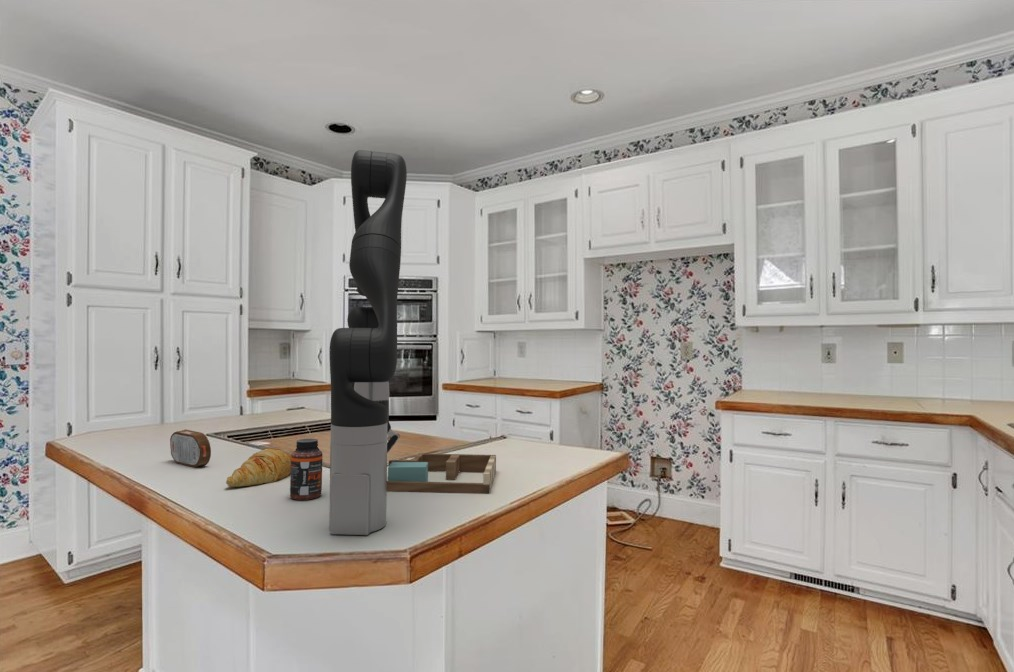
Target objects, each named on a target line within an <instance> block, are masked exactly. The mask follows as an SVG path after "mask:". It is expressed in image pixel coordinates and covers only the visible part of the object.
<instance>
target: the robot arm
mask: <svg viewBox="0 0 1014 672" xmlns="http://www.w3.org/2000/svg"><path fill="white" fill-rule="evenodd" d="M407 175H408V173H407V164H406V161H405V159H404V157H403V156H402V155H400V154H397V153H394V152H385V151H375V150H373V151H372V150H364V149H363V150H362V149H359V150H356V151H355V152H354V154H353V155H352V159H351V166H350V181H351V182H350V186H351V197H352V198H351V199H352V210H353V222H354V229H355V231H354V234H353V236H352V239H351V245H350V255H349V263H348V264H349V265H348V266H349V271H350V275H351V276H352V279H353V280H354V283H355V284H356V292H357V293H358V294H359V295H360V296H363V297H365V298H366V300H367V301H368V302H369V304H370V305H371V306H355V307H353V308H352V309H351V310H350V311H349V313H348V315H347V326H348V327H339V328H336V329H335V330H334V331H333V333H332V335H331V337H330V342H329V375H330V376H329V377H330V445H329V446H330V449H329V450H330V451H329V454H330V455H329V458H330V459H329V460H330V461H329V464H330V465H329V516H328V517H329V522H328V524H329V526H328V528H329V534H330V535H346V536H347V535H350V536H351V535H352V536H354V535H355V536H356V535H357V536H359V535H360V536H368V535H369V534H370V533H373V532H376V531H379V530H380V529H382V528H384V527H385V526H386V525H387V495H388V494H387V492H388V491H387V481H388V453H389V452H390V451H391V450H392V449H393V447H394V446H395V444H396V443H397V442H398V440H399V439H400V438H401V435H400V434H399V433H396V432H395V431H393V429H392V426H391V424H390V419H389V418H390V417H389V416H390V413H389V412H390V395H391V394H390V384H389V381H392V380H393V378H394V376H395V375H396V374H395V373H396V369H397V364H398V294H399V293H398V291H399V281H400V273H401V272H400V271H401V260H402V259H401V258H402V221H403V219H402V218H403V211H404V202H405V195H406V185H407V177H408V176H407ZM369 198H373V199H384V201H383V202H382V204H381V205H380V206H379V208H377V210H376V211H375V212H373V213H372V214H370V209H369V202H368V199H369ZM353 383H354V385H353Z"/></svg>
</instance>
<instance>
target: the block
mask: <svg viewBox="0 0 1014 672" xmlns="http://www.w3.org/2000/svg"><path fill="white" fill-rule="evenodd" d="M387 481H413V482H429V471H428V462H392V463H391V464H390V465H389V464H388V466H387Z"/></svg>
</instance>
